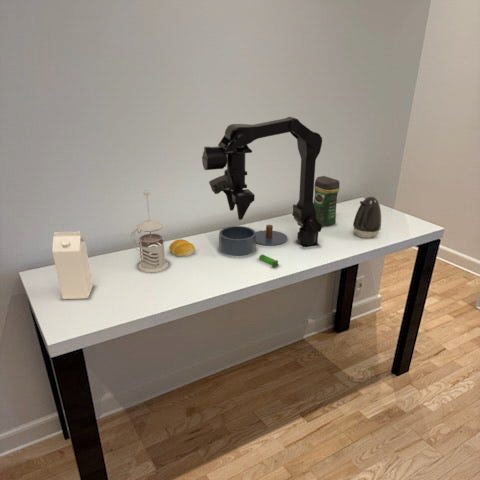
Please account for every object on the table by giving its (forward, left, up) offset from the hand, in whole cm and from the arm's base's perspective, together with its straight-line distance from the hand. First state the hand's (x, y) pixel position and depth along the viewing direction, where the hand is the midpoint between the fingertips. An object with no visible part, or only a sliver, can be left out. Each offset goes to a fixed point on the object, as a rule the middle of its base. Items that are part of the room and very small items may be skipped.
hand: (235, 214), depth 147 cm
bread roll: (+17, -7, -15) cm, 24 cm away
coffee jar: (-44, -18, -15) cm, 50 cm away
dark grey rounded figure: (-53, -1, -15) cm, 55 cm away
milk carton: (+52, +12, -15) cm, 55 cm away
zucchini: (-8, +10, -14) cm, 19 cm away
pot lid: (-16, -8, -14) cm, 23 cm away
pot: (-2, -3, -14) cm, 15 cm away
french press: (+29, 0, -15) cm, 33 cm away
